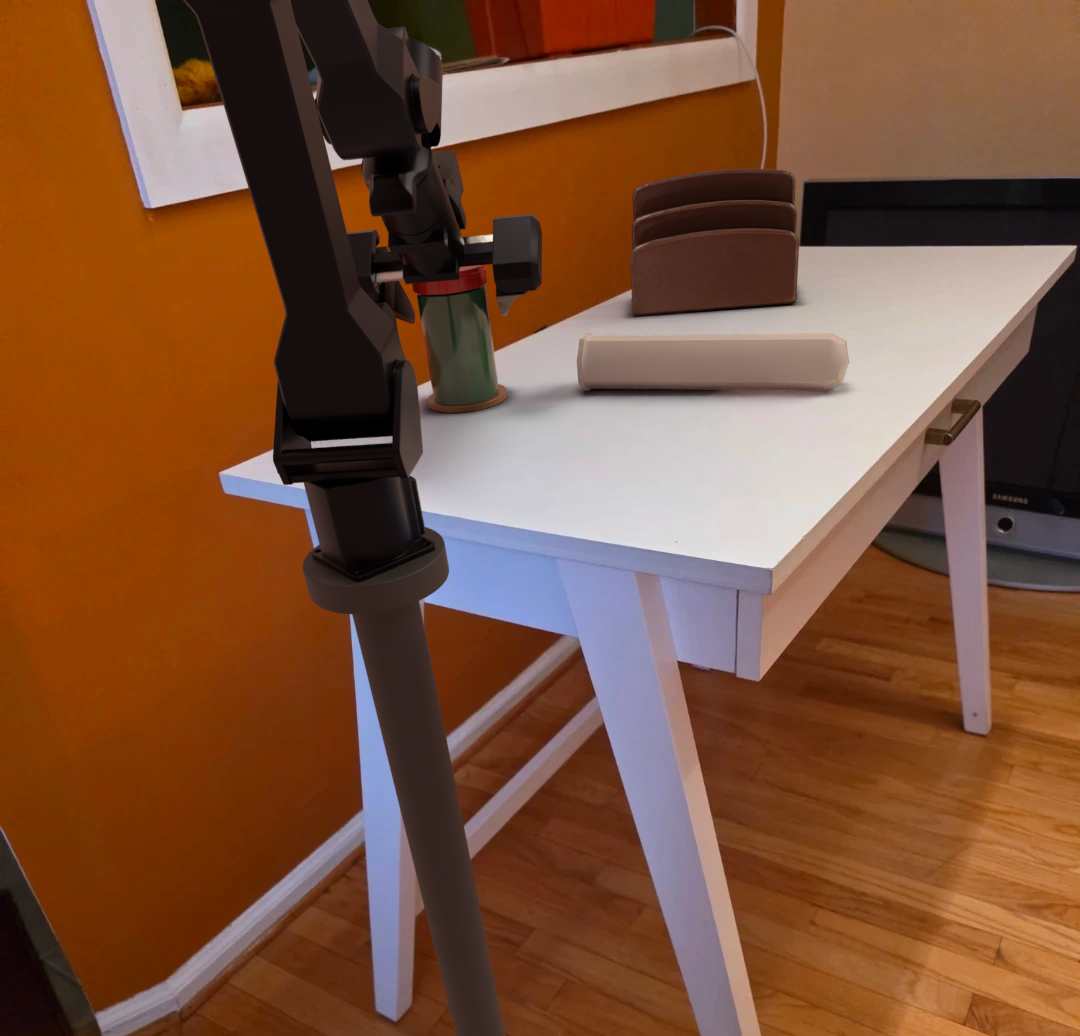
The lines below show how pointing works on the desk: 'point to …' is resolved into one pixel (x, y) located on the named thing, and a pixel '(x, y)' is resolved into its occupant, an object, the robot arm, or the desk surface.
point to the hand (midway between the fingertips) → (458, 315)
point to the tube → (713, 362)
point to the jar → (459, 346)
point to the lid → (455, 282)
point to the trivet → (470, 407)
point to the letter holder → (714, 241)
